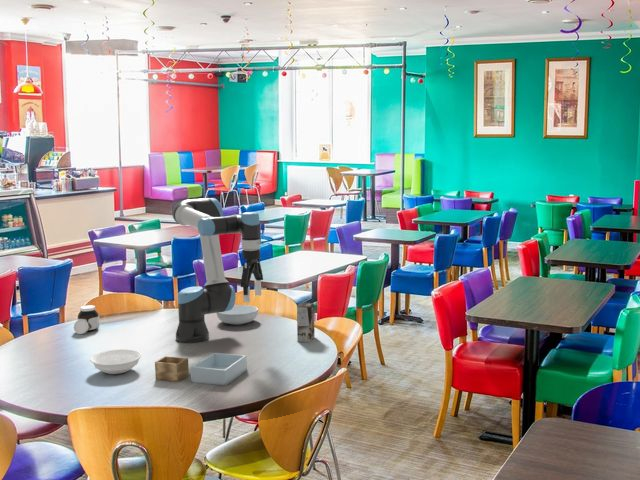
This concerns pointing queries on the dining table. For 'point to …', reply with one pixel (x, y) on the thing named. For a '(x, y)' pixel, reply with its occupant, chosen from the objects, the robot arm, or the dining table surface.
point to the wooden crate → (171, 369)
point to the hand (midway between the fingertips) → (252, 298)
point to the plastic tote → (219, 369)
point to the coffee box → (305, 322)
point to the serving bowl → (238, 314)
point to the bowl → (116, 361)
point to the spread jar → (87, 320)
